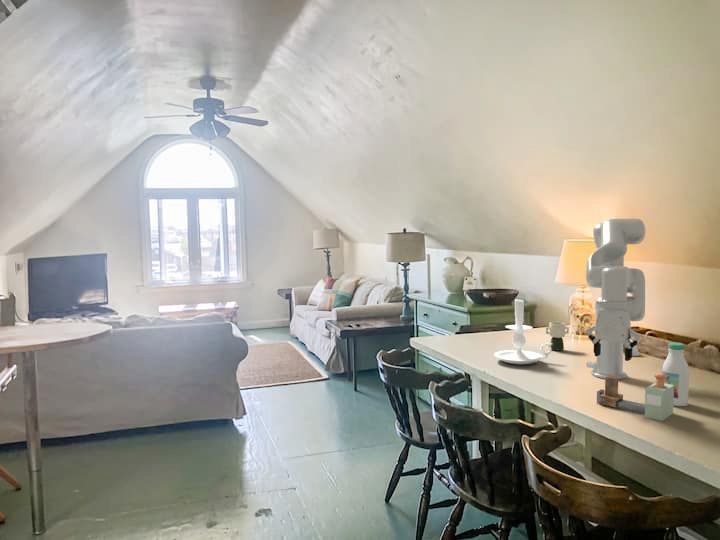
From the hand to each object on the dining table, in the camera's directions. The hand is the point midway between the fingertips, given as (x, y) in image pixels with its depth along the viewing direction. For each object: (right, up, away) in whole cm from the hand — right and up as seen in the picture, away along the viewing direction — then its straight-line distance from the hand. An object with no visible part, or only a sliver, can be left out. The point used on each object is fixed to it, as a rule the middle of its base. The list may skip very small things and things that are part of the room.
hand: (612, 357), depth 179 cm
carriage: (0, -16, +2) cm, 16 cm away
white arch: (+40, -10, +81) cm, 91 cm away
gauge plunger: (+10, -10, -9) cm, 17 cm away
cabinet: (+10, -16, -9) cm, 21 cm away
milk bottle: (+22, -16, +3) cm, 27 cm away
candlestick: (-11, -12, +60) cm, 62 cm away
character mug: (+12, -10, +83) cm, 85 cm away
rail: (+4, -16, -2) cm, 16 cm away
